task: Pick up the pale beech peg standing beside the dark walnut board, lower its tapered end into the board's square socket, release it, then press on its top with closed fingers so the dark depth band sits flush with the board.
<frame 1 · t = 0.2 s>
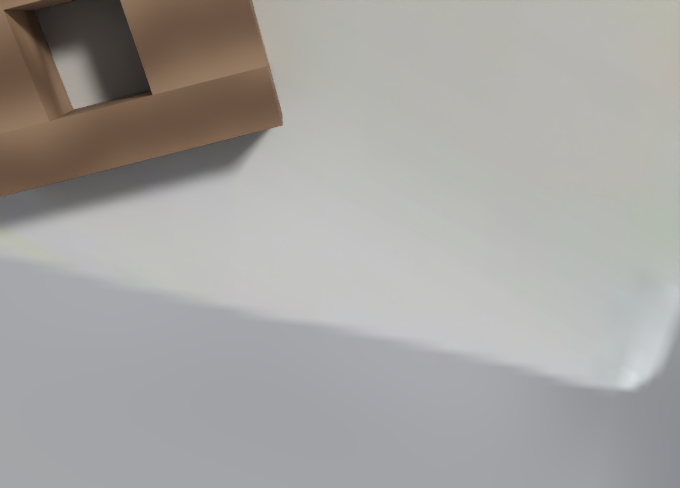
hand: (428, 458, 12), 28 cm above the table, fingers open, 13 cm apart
board: (109, 18, 34), on the table
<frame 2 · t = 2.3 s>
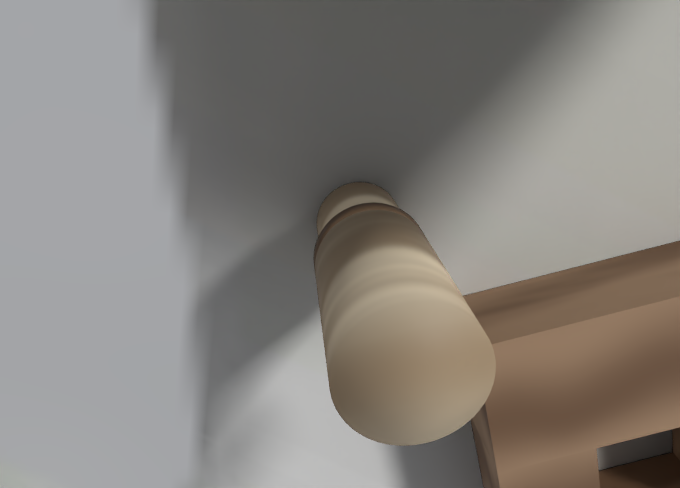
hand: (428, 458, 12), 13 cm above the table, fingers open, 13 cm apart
board: (634, 393, 29), on the table
peg: (358, 222, 24), on the table
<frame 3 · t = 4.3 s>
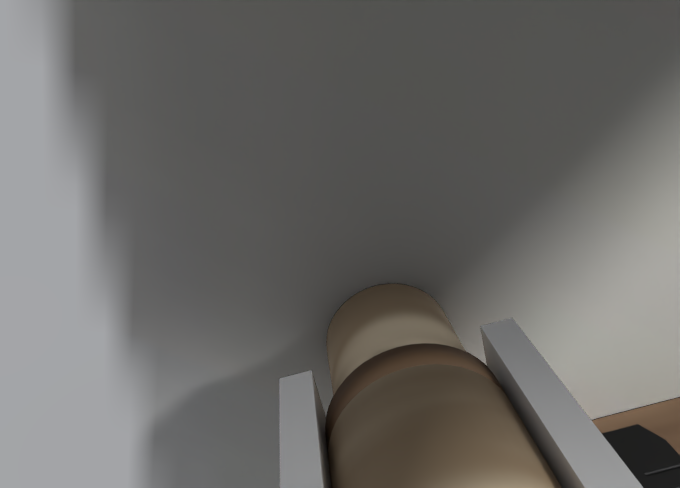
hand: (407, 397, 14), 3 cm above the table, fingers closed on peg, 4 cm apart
peg: (388, 340, 16), on the table, touching gripper
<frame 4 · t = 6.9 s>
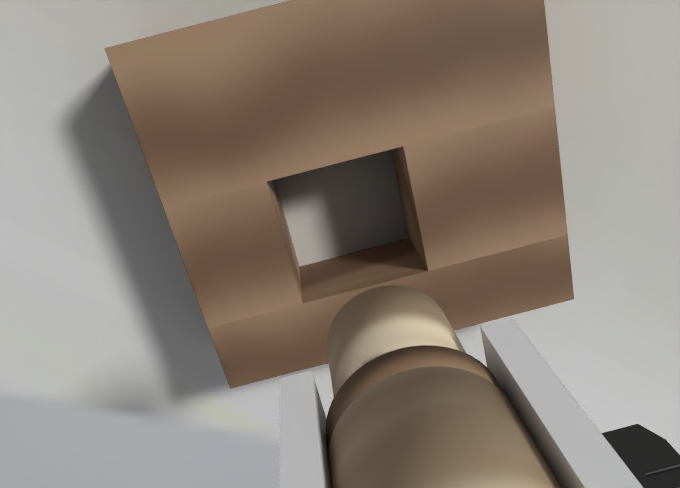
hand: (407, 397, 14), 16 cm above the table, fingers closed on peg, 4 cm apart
board: (354, 164, 28), on the table
peg: (388, 341, 16), point 13 cm above the table, touching gripper
when the fingers open (5 cm above the table, at t = 9.8 s): peg drops 2 cm, resting in board.
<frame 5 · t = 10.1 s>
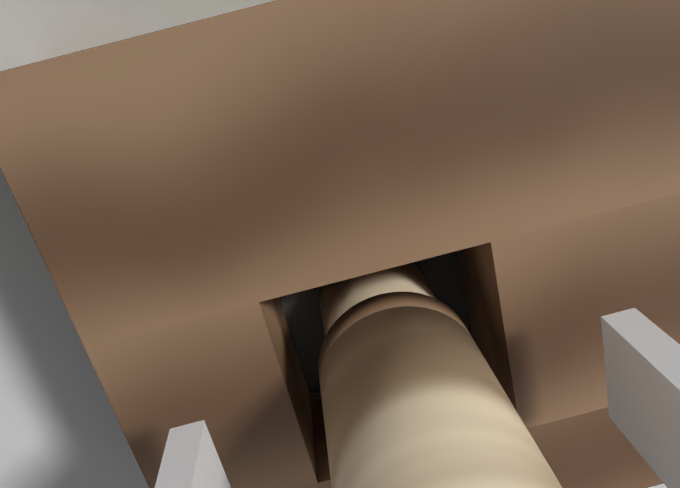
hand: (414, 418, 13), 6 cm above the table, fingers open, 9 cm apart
board: (395, 248, 18), on the table
peg: (374, 300, 19), resting in board
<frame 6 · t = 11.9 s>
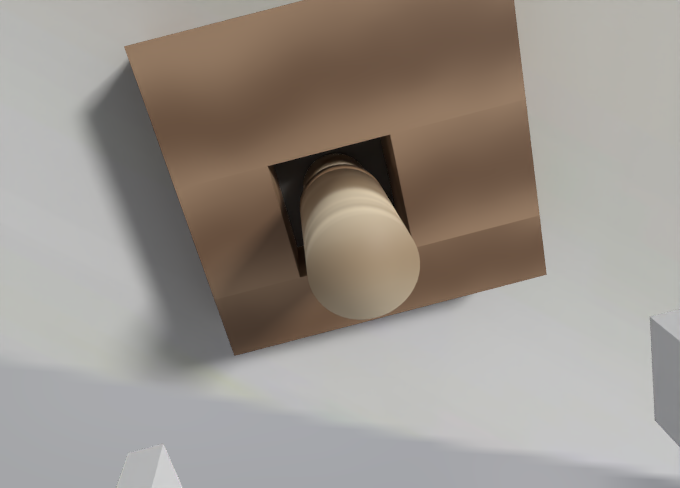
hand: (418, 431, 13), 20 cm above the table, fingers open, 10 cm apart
board: (347, 153, 31), on the table
peg: (335, 185, 31), resting in board
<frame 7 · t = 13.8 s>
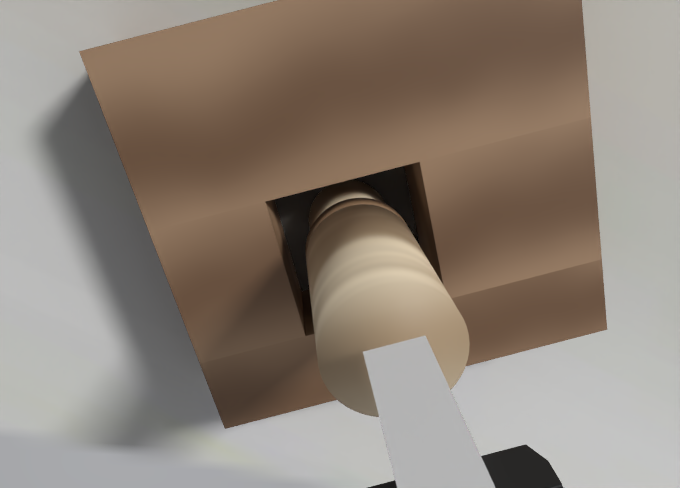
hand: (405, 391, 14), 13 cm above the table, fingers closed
board: (363, 179, 25), on the table
peg: (348, 218, 26), resting in board
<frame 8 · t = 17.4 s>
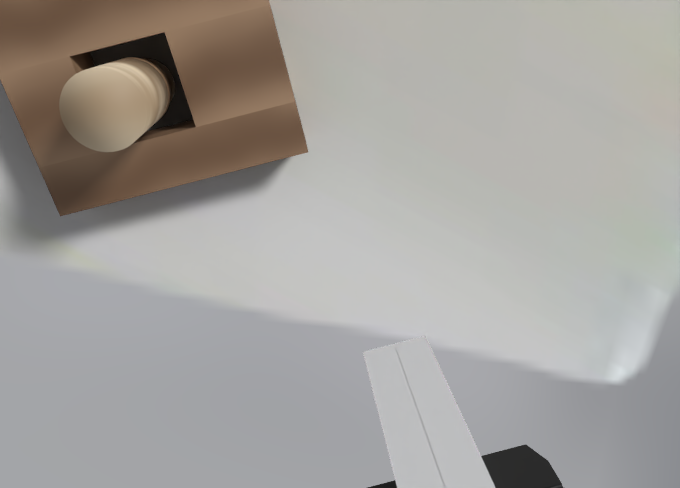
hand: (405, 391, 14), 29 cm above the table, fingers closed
board: (155, 58, 39), on the table
peg: (148, 85, 39), resting in board
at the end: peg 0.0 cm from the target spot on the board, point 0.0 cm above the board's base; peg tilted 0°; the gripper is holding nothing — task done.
